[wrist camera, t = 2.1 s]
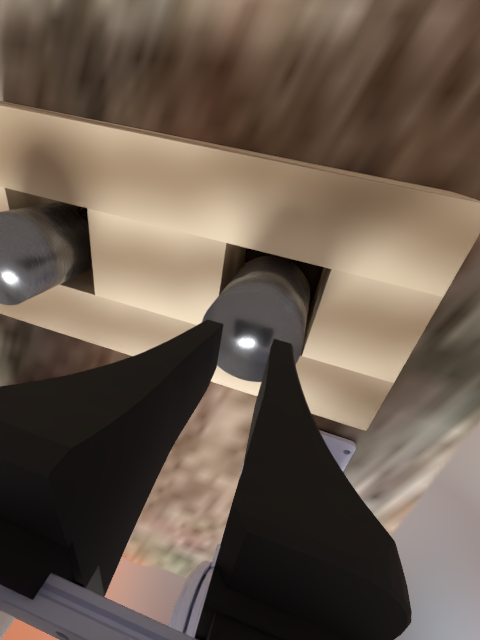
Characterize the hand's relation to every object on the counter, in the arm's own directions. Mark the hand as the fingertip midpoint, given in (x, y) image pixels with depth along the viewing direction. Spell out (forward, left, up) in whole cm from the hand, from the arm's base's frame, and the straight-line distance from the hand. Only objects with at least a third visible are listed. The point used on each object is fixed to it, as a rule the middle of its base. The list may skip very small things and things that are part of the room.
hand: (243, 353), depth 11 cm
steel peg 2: (0, 0, -6) cm, 6 cm away
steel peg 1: (0, +12, -6) cm, 13 cm away
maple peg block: (0, +6, -9) cm, 11 cm away
